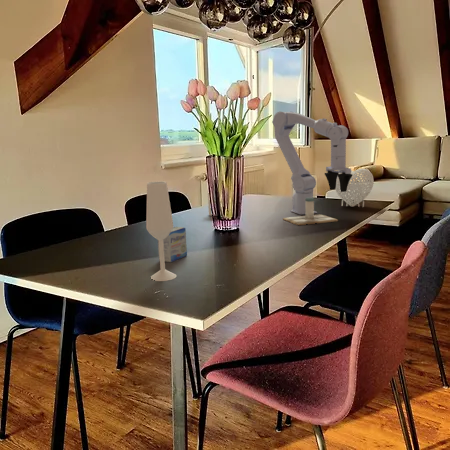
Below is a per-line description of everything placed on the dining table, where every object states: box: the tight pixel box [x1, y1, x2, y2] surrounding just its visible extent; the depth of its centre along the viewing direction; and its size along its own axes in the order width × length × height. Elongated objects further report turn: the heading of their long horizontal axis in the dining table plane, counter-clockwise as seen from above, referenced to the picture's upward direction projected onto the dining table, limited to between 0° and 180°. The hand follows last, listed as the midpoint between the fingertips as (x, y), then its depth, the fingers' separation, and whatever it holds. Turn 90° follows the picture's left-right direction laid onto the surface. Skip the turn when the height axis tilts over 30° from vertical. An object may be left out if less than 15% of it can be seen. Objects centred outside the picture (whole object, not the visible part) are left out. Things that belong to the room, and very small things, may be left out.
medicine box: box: [157, 226, 188, 263], centre depth 131 cm, size 8×4×9 cm, turn 148°
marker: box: [305, 197, 315, 219], centre depth 176 cm, size 3×3×8 cm
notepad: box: [282, 213, 339, 226], centre depth 177 cm, size 13×17×1 cm
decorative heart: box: [334, 168, 375, 208], centre depth 203 cm, size 18×11×17 cm, turn 54°
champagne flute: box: [145, 181, 177, 282], centre depth 112 cm, size 7×7×24 cm
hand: (337, 190), depth 182 cm, fingers open, 7 cm apart
